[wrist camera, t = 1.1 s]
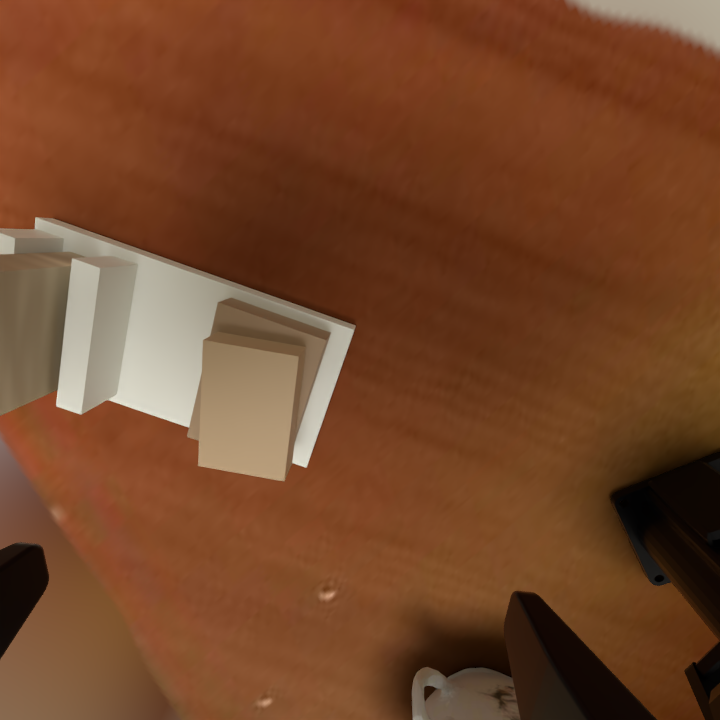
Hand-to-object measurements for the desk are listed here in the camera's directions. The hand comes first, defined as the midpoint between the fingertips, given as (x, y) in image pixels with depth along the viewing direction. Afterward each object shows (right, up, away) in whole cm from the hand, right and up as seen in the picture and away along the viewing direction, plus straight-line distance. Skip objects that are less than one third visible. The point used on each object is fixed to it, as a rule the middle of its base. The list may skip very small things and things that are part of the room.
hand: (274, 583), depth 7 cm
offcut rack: (-7, +5, +13) cm, 16 cm away
